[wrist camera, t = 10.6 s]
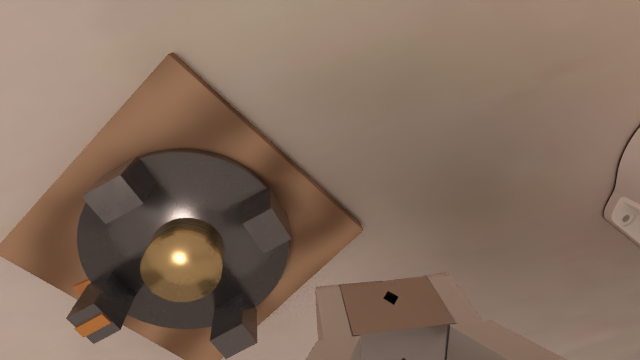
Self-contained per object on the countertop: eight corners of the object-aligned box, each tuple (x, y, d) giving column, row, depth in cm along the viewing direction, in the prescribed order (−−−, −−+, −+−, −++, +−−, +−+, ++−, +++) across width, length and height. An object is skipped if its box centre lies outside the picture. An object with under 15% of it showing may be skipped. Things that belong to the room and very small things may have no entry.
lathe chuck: (221, 106, 30) (215, 123, 25) (323, 266, 37) (333, 304, 32) (30, 212, 31) (-13, 249, 26) (165, 349, 38) (151, 399, 33)
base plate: (359, 222, 38) (364, 231, 36) (208, 360, 41) (206, 374, 40) (172, 52, 29) (167, 54, 28) (3, 242, 33) (-10, 254, 31)
